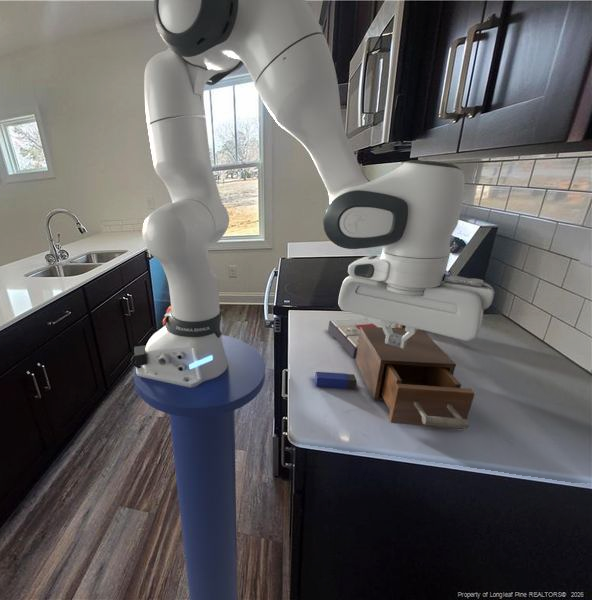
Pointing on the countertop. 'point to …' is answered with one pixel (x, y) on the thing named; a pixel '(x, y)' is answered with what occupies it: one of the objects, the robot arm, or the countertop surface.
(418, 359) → the cabinet
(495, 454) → the countertop surface
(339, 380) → the blue and gray block
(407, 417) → the drawer
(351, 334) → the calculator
